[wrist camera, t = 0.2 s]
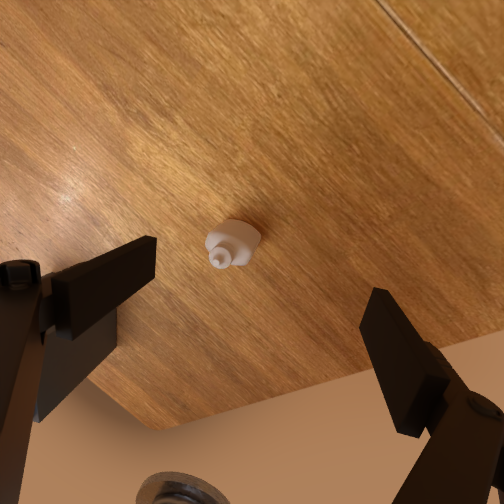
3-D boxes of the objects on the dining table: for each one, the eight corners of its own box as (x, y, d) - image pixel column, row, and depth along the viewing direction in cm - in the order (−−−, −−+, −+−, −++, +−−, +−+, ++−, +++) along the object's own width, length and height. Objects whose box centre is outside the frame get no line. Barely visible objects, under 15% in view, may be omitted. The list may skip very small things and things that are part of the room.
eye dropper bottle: (241, 257, 38) (217, 295, 27) (217, 225, 37) (181, 252, 26) (266, 240, 37) (250, 273, 25) (241, 207, 36) (214, 226, 25)
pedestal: (116, 347, 48) (15, 446, 31) (57, 330, 49) (-71, 417, 32) (116, 288, 44) (0, 366, 27) (52, 272, 45) (-98, 336, 28)
